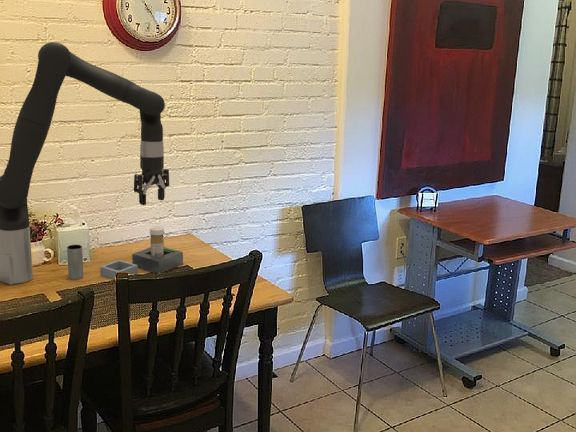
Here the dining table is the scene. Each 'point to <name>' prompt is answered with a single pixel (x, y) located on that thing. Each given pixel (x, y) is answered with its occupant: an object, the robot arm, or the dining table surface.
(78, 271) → the gray cylinder
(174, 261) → the port block
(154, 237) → the sprinkles bottle
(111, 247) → the dining table surface
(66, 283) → the dining table surface
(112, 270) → the blue-grey square tray
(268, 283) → the dining table surface
